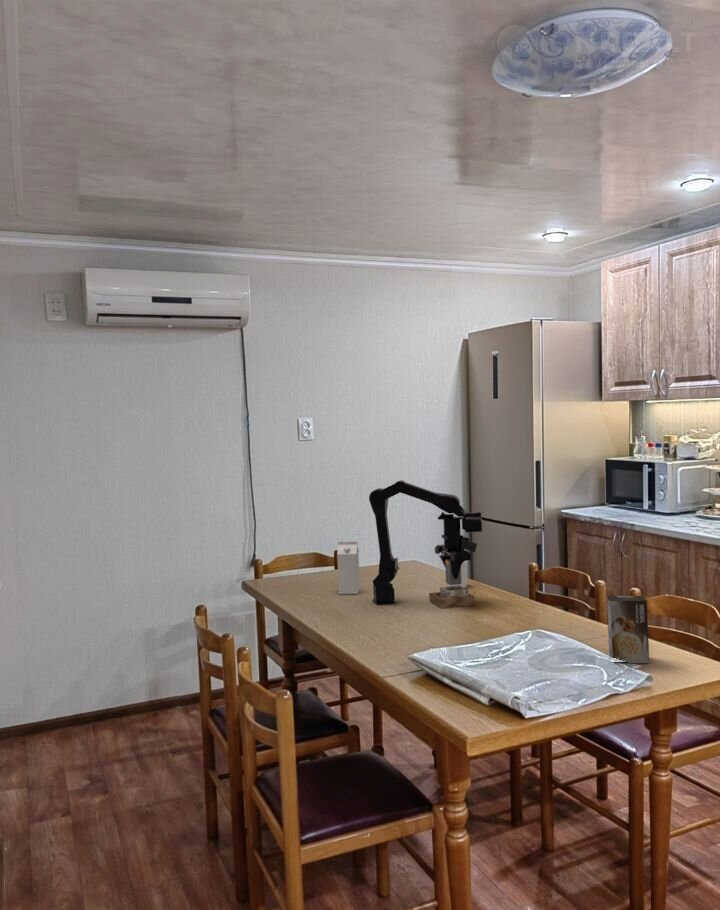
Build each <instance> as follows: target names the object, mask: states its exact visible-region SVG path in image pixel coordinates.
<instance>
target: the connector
mask: <svg viewBox="0 0 720 910" xmlns="http://www.w3.org/2000/svg"><path fill="white" fill-rule="evenodd" d="M445 566H446V568H445V583H446V584H449V585H456V584H461V568H460V571H459V575H458V578H457V579H454V577H453V574H452V571H451V568H450V565H449V562H448V560H445ZM445 566H444V567H445ZM449 585H448V586H449Z"/></svg>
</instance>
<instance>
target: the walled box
mask: <svg viewBox="0 0 720 910" xmlns="http://www.w3.org/2000/svg"><path fill="white" fill-rule="evenodd" d="M428 594H429V597H428V598H429V599H428V600H429V603H431V604H433V605H435V606H437V608H439V609H449V608H458V607H460V608H461V607H469V606H475V596H474V595H473V594H471V593H470V592H469V589H468V588H467V587H466V588H464V587H462V586H460V585H459V586H449V585H447V586H440V587H439V591H435V592H429V593H428Z"/></svg>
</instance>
